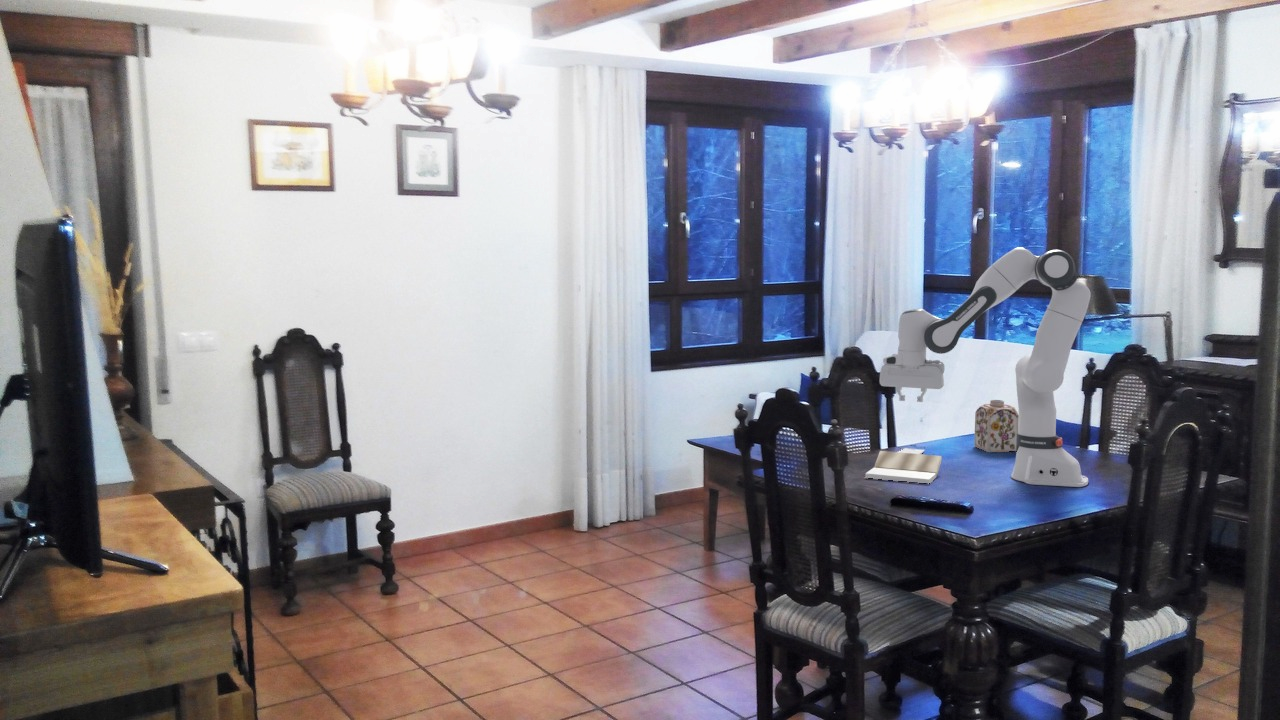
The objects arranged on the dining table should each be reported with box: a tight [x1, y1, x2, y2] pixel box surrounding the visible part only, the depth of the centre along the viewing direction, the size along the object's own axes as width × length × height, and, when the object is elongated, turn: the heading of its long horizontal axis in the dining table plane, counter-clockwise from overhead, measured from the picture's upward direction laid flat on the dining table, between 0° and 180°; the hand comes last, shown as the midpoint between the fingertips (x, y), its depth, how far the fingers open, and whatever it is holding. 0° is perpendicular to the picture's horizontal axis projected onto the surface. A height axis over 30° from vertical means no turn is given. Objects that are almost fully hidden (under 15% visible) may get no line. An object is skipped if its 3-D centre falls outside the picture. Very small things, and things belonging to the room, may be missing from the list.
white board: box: [864, 467, 937, 485], centre depth 328 cm, size 20×10×2 cm, turn 62°
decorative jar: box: [973, 399, 1019, 453], centre depth 373 cm, size 12×12×18 cm
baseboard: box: [897, 444, 926, 454], centre depth 359 cm, size 30×3×10 cm
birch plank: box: [873, 450, 943, 477], centre depth 336 cm, size 20×8×2 cm, turn 62°
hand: (910, 401), depth 336 cm, fingers open, 4 cm apart
